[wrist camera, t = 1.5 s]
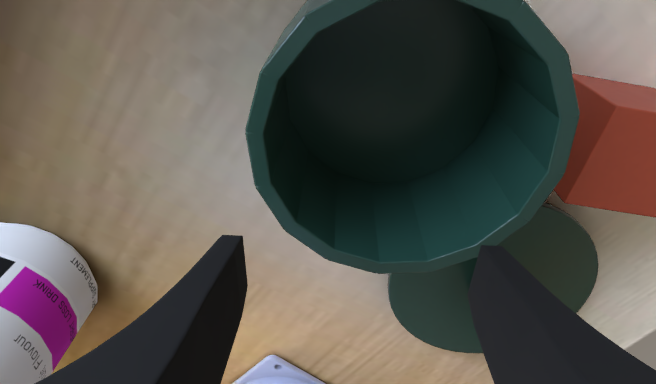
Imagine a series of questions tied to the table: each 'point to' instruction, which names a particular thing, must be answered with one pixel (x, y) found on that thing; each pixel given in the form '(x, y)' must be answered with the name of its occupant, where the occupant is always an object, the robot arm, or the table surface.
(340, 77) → the green pot
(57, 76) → the table surface
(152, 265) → the table surface
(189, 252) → the table surface
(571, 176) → the block
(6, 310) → the supplement can
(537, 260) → the pot lid
